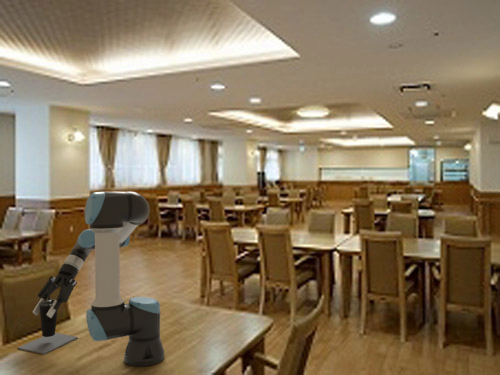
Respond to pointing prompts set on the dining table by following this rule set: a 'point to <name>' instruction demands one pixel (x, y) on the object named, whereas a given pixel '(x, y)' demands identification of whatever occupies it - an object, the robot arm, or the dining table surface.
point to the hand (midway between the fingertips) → (41, 315)
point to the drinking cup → (47, 322)
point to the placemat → (47, 343)
